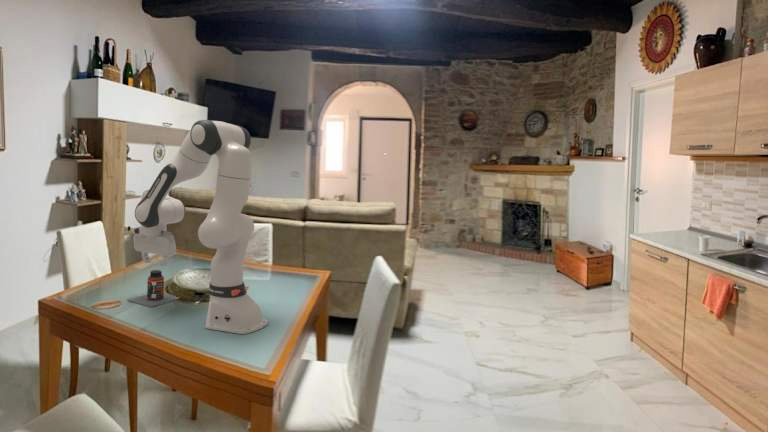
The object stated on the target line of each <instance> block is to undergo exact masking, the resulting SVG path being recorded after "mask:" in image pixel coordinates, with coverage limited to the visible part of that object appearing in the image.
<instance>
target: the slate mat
mask: <svg viewBox="0 0 768 432" xmlns="http://www.w3.org/2000/svg"><path fill="white" fill-rule="evenodd" d="M176 296H177V295H175V296H174V295H173V294H171V293H166V292H164V297H163V298H162V299H160V300H149V299H148V298H147V294H143V295H139V296H136V297H132V298H129V299H127V300H126V301H127V302H129V303H133V304H137V305H141V306H144V307H148V308H154V307H155V308H156V307H159V306H163V305H166V304H168V303H172V302H174V300H175V301H177V299H178V300H180V299H179V297H180V296H179V297H176Z"/></svg>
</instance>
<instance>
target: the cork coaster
mask: <svg viewBox="0 0 768 432" xmlns="http://www.w3.org/2000/svg"><path fill="white" fill-rule="evenodd" d="M122 304H123V303H122V301H121V300H117V299H106V300H100V301H96V302H94V303H92V304H91V305H90V306H91V307H90V308H92V309H94V310H95V309H97V310H108V309H114V308H117V307H120V306H121V305H122Z"/></svg>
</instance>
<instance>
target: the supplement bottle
mask: <svg viewBox="0 0 768 432" xmlns="http://www.w3.org/2000/svg"><path fill="white" fill-rule="evenodd" d="M149 274H150V275H149V276H148V277H147V285H146V286H147V288H146V289H147V290H146V291H147V298H148V299H149V300H160V299H162V298H163V297H164V293H165V289H164V288H165V277H164V275H162V274H163V272H162V270H160V269H158V270H157V269H153V270H150V273H149Z"/></svg>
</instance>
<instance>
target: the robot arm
mask: <svg viewBox="0 0 768 432" xmlns="http://www.w3.org/2000/svg"><path fill="white" fill-rule="evenodd" d="M251 139H252V138H251V135H250V132H249V131H248V130H247V129H246V128H244V127H243V126H240V125H238V124H233V123H228V122H225V121H220V120H210V119H201V120H198V121H197V120H196V122H194V123H193V125H192V126H191V129H190V130H189V131H188V133H187V134H186V136H185V138H184V140H183V141H182V143H181V145H180V147H179V149H178V151H177V152H176V154H175V156H174V157H173V158H172V160H171V161H170V162H169V163H168V164H166V165H165V166H164V167H163V168H162V169H161V170H160V172H159V173H158V175H157V176H156V178H155V180H154V182H153V183H152V185H151V186H150V188H149V189H148V190H144V191H143V192H142V194H141V198H140V201H139V202H138V204H137V205H136V207H135V210H134V216H135V220H136V221H137V223H138V224H140V226H137V227H134V228H133V229H132V234H133V248H134V251H136V252H140V253H141V257H143V262H144V264H150V263H151V257H150V256H149V254H152V255H153V254H154V255H158V256H159V255H160V256H161V258H162V259H161V261H160V266H161V267H166V266H167V265H168V261H169V258H170V256H174V255H176V254H177V245H176V240H175V236H174V235H173V233H172V232H171V231H167V230H168V229H167V225H171V224H176V223H179V222H182V221H183V220H184V219H185V216H186V206H185V204H184V203H183V202H182V201H181V199H178V198H174V197H172V196H169V195H168V194H169V193H170V191H171V190H172V189H173V188H174V187H175V186H176V185H179V184H181V183H183V182H187V181H189V180H193V179H196V178H198V177H200V176H201V175H203V173H204V172H205V171H206V170H207V168H208V166H209V164H210V161H211V159H212V157H213V155H216V156H217V159H218V162H219V163H218V169H217V175H216V176H217V178H216V185H215V192H214V197H213V201H212V202H211V205H210V207H209V210H208V213H207V215H206V218H205V219H204V221H203V222H202V223H200V225H199V227H198V230H197V236H198V240H199V242H200V243H201V245H203V246H204V247H206V248H208V249H216V253H215V255H214V256H213V258H212V259H211V262H210V282H209V285H208V292H209V293H208V294H209V302H208V309H207V315H206V318H205V329H208V330H214V331H222V332H225V333H226V332H227V333H233V334H239V335H245V334H246V335H247V334H250V333H254V332H256V331H258V330H260V329H263V328H265V327H266V326H267V325H268V324H269V320H268V319H267V318H264V317H263V316H262V309H261V306H260V305H258V303H257V302H256V301H255V300H254V299H253V298H252V297H251V296H250V295H249V294H248V290H249V288H250V285H249V286H248V285H247V286H246V284H245V282H244V264H245V256H246V252H247V248H248V244H249V241H250V238H251V237H252V235H253V234H254V230H255V223H254V221H253V219H252V217H250V216H249V215H247V214H245V213H242V210H243V209H244V206H245V205H246V204H247V202H248V199H249V195H250V186H251V178H252V154H251V151H250V150H249V148H250V146H251V142H252V141H251Z"/></svg>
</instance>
